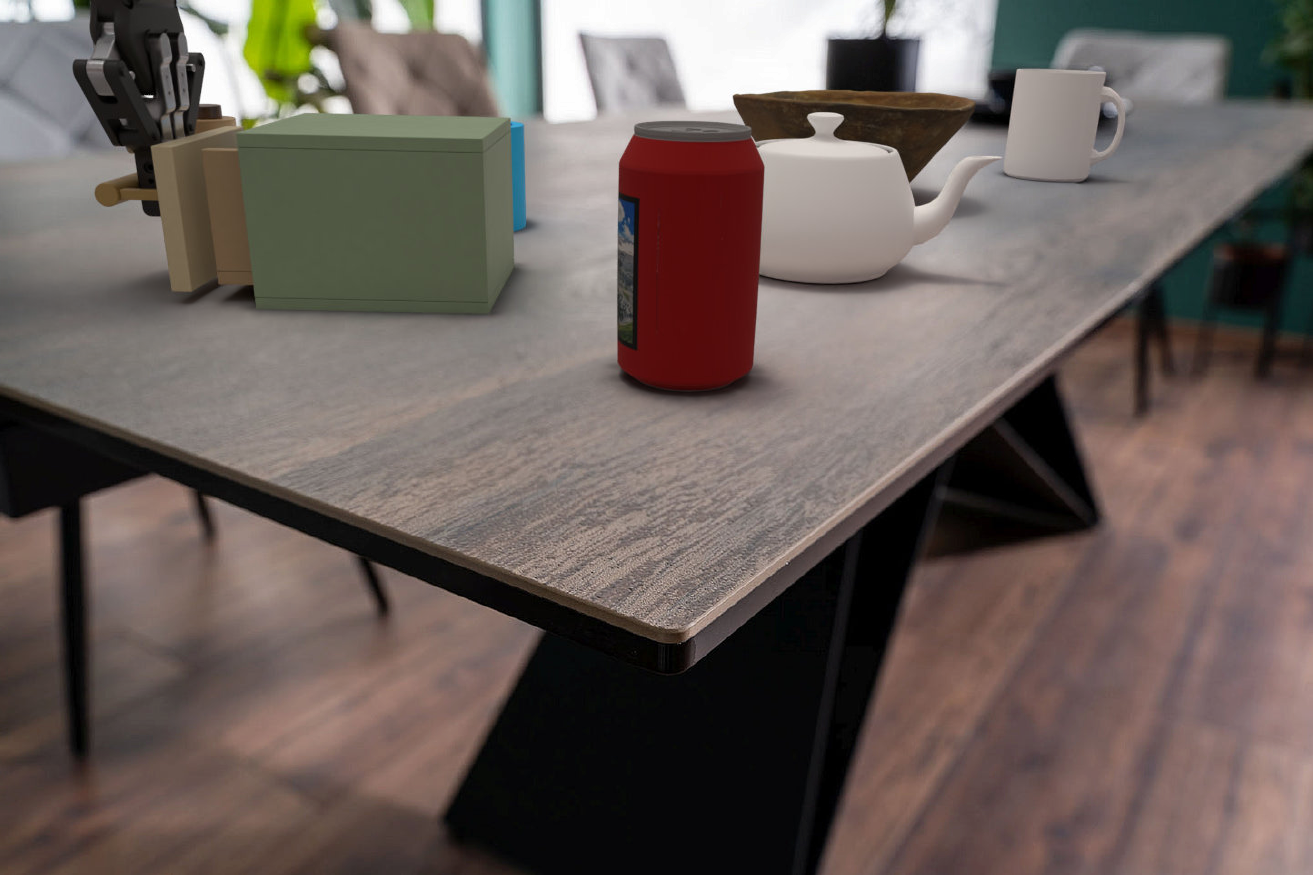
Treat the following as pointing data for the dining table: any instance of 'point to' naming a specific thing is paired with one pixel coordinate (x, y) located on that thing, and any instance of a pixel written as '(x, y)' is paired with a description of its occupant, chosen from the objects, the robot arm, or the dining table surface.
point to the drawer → (195, 207)
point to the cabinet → (378, 212)
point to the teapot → (845, 206)
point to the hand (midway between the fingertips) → (166, 214)
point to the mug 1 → (518, 175)
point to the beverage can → (688, 254)
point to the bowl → (862, 119)
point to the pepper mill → (212, 118)
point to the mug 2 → (1058, 124)
